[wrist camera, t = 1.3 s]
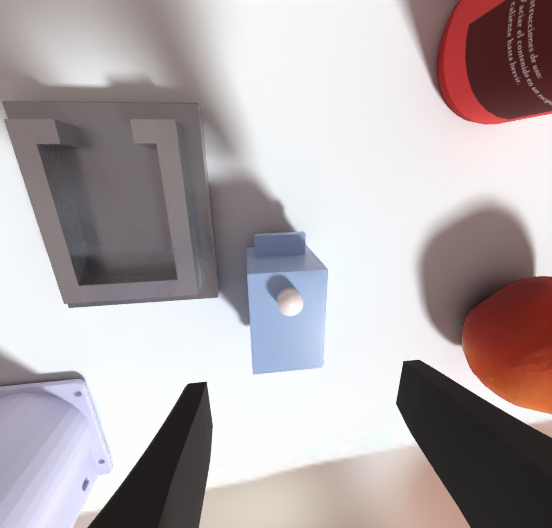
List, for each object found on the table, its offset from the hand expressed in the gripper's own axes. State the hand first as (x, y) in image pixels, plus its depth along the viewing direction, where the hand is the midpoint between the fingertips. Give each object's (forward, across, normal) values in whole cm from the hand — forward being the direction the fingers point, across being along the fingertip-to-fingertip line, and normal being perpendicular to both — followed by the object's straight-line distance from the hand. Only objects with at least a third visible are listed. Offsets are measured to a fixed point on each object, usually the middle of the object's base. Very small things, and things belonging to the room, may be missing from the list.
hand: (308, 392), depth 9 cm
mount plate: (+9, +8, -6) cm, 14 cm away
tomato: (+10, -18, +4) cm, 21 cm away
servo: (+10, 0, 0) cm, 10 cm away
